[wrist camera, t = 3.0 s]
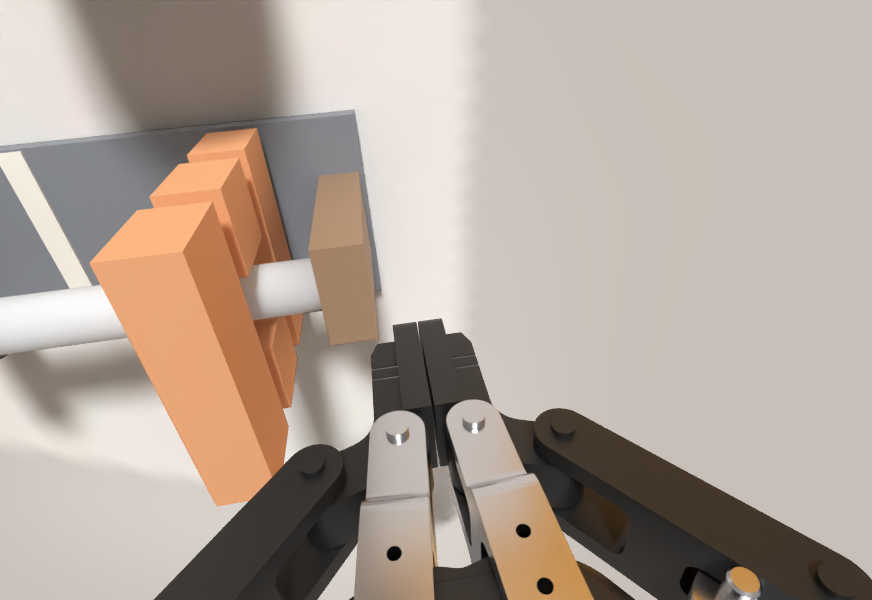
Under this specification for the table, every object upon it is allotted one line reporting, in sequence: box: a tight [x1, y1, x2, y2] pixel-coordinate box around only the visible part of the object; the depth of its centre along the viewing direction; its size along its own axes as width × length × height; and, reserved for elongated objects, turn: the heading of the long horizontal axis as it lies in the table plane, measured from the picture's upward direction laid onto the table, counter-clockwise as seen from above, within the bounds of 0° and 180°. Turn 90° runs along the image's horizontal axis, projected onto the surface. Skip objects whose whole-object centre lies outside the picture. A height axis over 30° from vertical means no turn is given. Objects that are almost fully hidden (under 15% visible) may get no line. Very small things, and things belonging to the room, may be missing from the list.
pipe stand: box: [0, 110, 381, 359], centre depth 20 cm, size 20×9×8 cm, turn 94°
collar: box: [89, 128, 303, 506], centre depth 18 cm, size 2×9×11 cm, turn 4°
